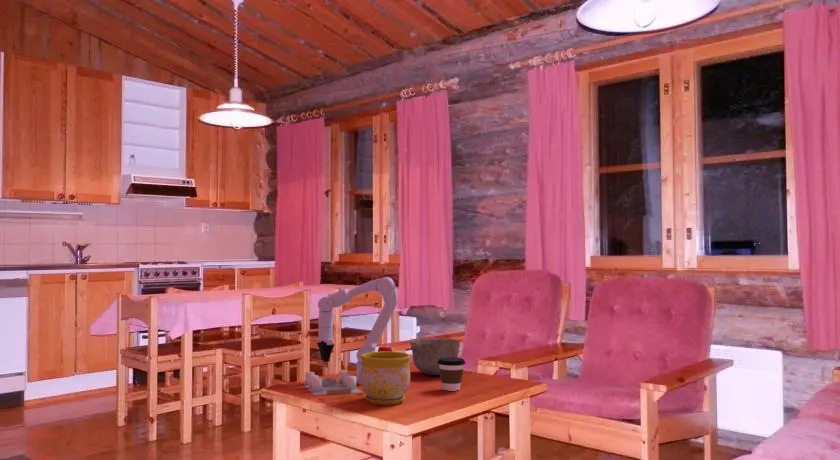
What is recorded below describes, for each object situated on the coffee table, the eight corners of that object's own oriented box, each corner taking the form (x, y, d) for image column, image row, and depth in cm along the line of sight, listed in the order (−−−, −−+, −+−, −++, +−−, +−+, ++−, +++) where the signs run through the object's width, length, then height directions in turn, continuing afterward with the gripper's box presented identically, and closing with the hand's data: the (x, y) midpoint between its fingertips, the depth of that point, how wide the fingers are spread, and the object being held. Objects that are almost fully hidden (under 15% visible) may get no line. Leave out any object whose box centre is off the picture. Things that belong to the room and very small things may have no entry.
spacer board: (347, 383, 267) (347, 369, 268) (362, 395, 246) (362, 380, 246) (302, 386, 261) (303, 372, 261) (314, 398, 240) (314, 383, 240)
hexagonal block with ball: (328, 383, 262) (328, 376, 262) (337, 385, 259) (337, 378, 259) (319, 385, 259) (319, 378, 259) (329, 387, 255) (329, 380, 255)
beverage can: (389, 375, 287) (390, 347, 287) (375, 374, 288) (376, 346, 288) (393, 372, 293) (393, 345, 293) (379, 372, 294) (380, 344, 294)
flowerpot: (416, 405, 231) (416, 358, 231) (365, 408, 226) (366, 359, 226) (402, 394, 248) (403, 350, 249) (355, 396, 243) (356, 352, 244)
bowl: (407, 370, 299) (407, 337, 299) (455, 370, 301) (455, 337, 302) (412, 379, 277) (412, 343, 277) (463, 379, 279) (464, 343, 280)
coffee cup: (469, 389, 260) (469, 358, 260) (459, 394, 250) (459, 362, 250) (443, 386, 264) (443, 356, 265) (432, 391, 254) (432, 360, 255)
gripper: (312, 325, 271) (311, 358, 271) (319, 329, 258) (319, 364, 257) (329, 324, 274) (328, 357, 273) (337, 328, 260) (336, 363, 260)
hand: (325, 360), depth 266 cm, fingers open, 3 cm apart
